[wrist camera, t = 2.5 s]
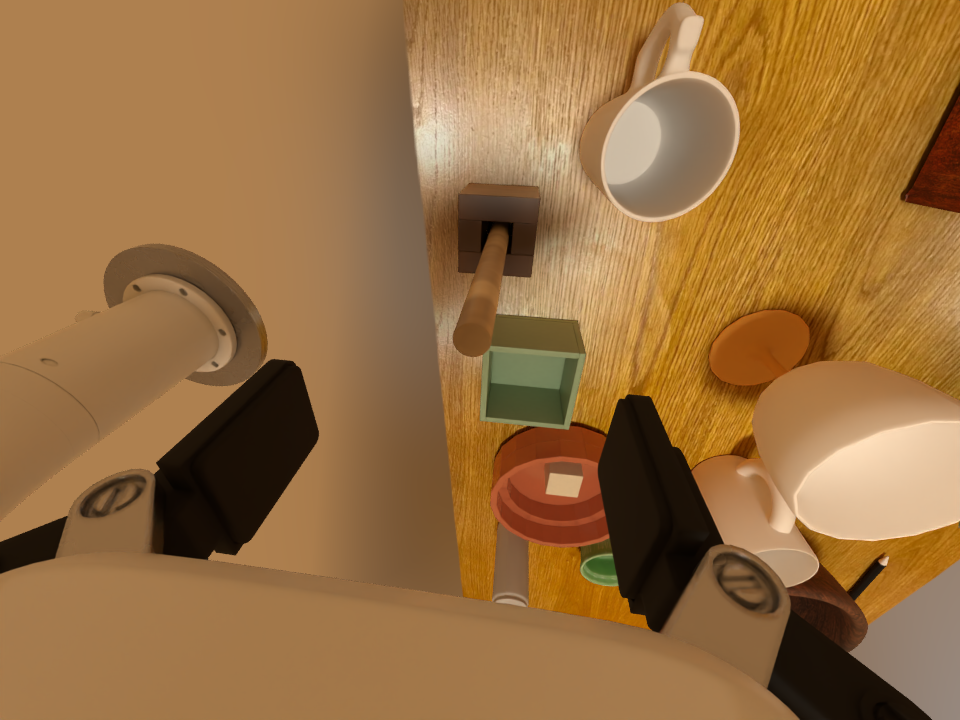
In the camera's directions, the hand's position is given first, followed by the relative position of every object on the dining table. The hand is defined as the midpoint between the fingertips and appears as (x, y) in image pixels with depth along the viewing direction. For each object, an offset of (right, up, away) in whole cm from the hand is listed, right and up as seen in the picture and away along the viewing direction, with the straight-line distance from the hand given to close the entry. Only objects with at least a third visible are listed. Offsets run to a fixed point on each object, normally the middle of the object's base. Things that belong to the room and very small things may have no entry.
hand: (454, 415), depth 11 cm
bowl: (+11, -13, +39) cm, 43 cm away
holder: (+3, +14, +22) cm, 27 cm away
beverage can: (+6, -24, +47) cm, 54 cm away
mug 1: (+12, +20, +17) cm, 29 cm away
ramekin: (+21, -27, +47) cm, 59 cm away
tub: (+6, +2, +30) cm, 30 cm away
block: (+11, -12, +37) cm, 40 cm away
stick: (+3, +14, +22) cm, 27 cm away
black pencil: (+60, -34, +46) cm, 83 cm away
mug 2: (+32, -12, +35) cm, 50 cm away
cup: (+29, +3, +26) cm, 39 cm away
